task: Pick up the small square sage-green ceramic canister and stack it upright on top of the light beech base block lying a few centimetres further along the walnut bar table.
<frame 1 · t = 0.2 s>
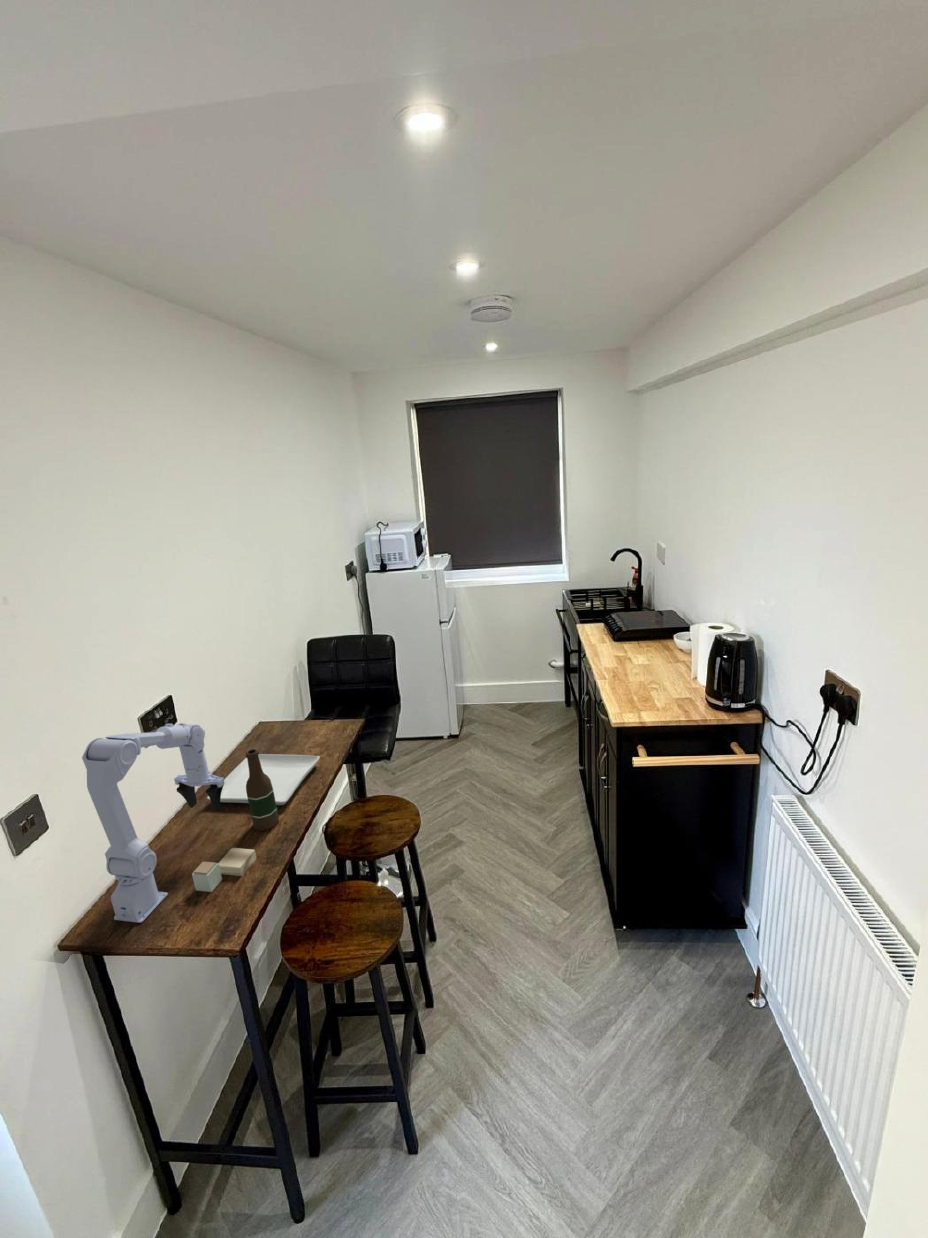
hand: (205, 806, 167), 10 cm above the table, fingers open, 7 cm apart
beer bottle: (266, 823, 174), on the table
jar: (209, 885, 151), on the table
square plate: (268, 785, 195), on the table
base block: (238, 866, 157), on the table
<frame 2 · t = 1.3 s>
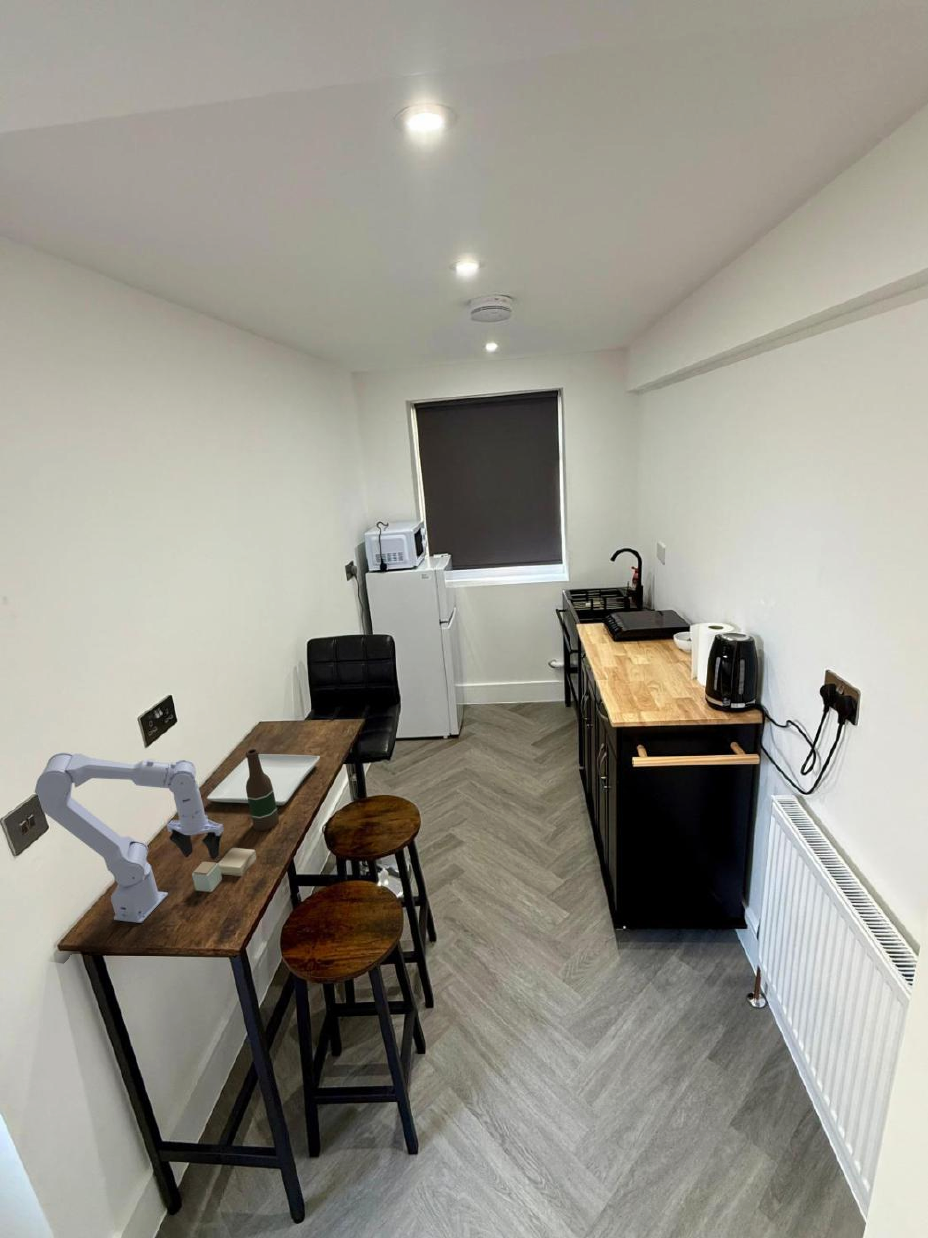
hand: (202, 855, 148), 9 cm above the table, fingers open, 7 cm apart
nothing on the table moved.
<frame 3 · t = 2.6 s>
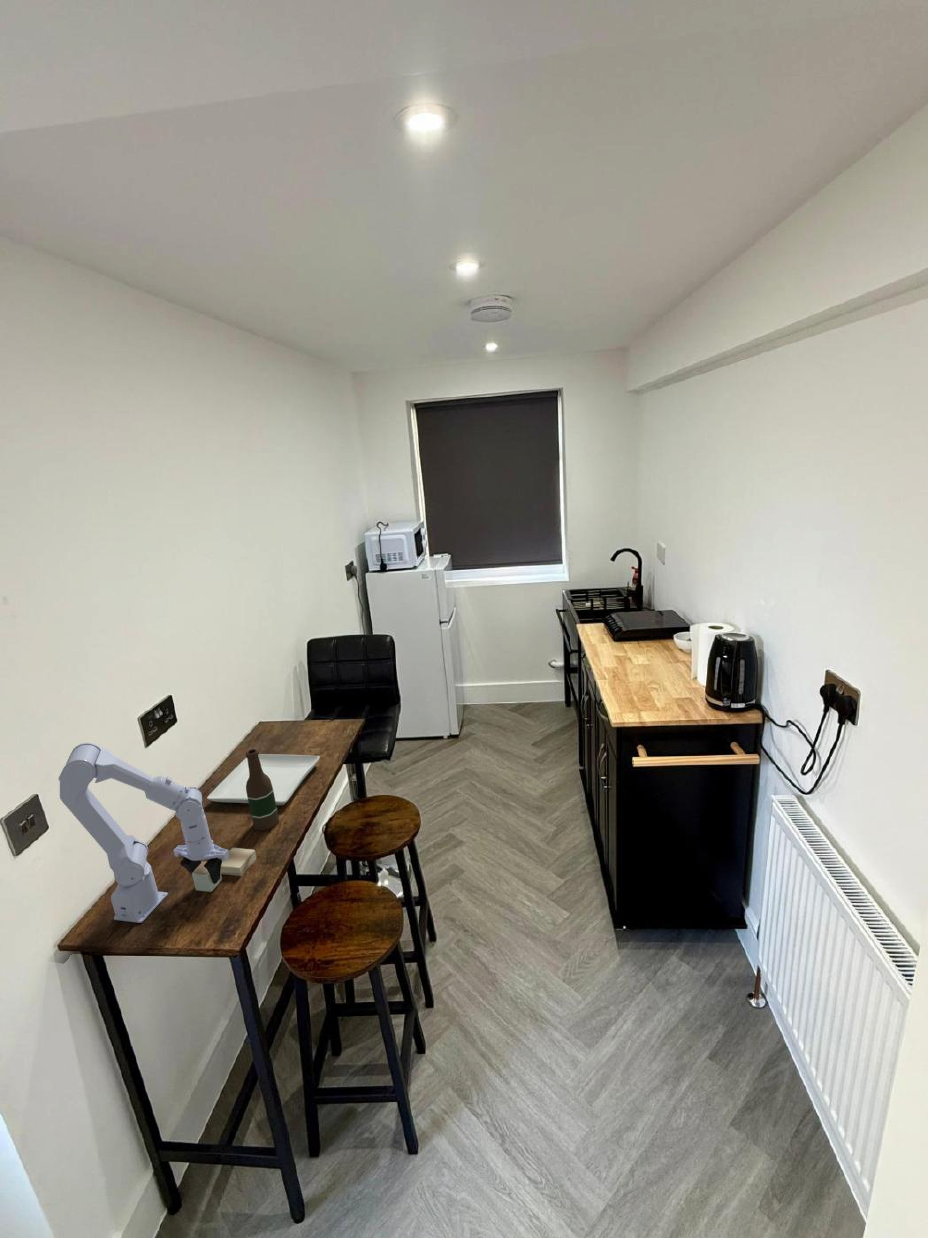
hand: (208, 880, 150), 1 cm above the table, fingers closed on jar, 4 cm apart
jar: (209, 884, 151), on the table, touching gripper
everything else where it was.
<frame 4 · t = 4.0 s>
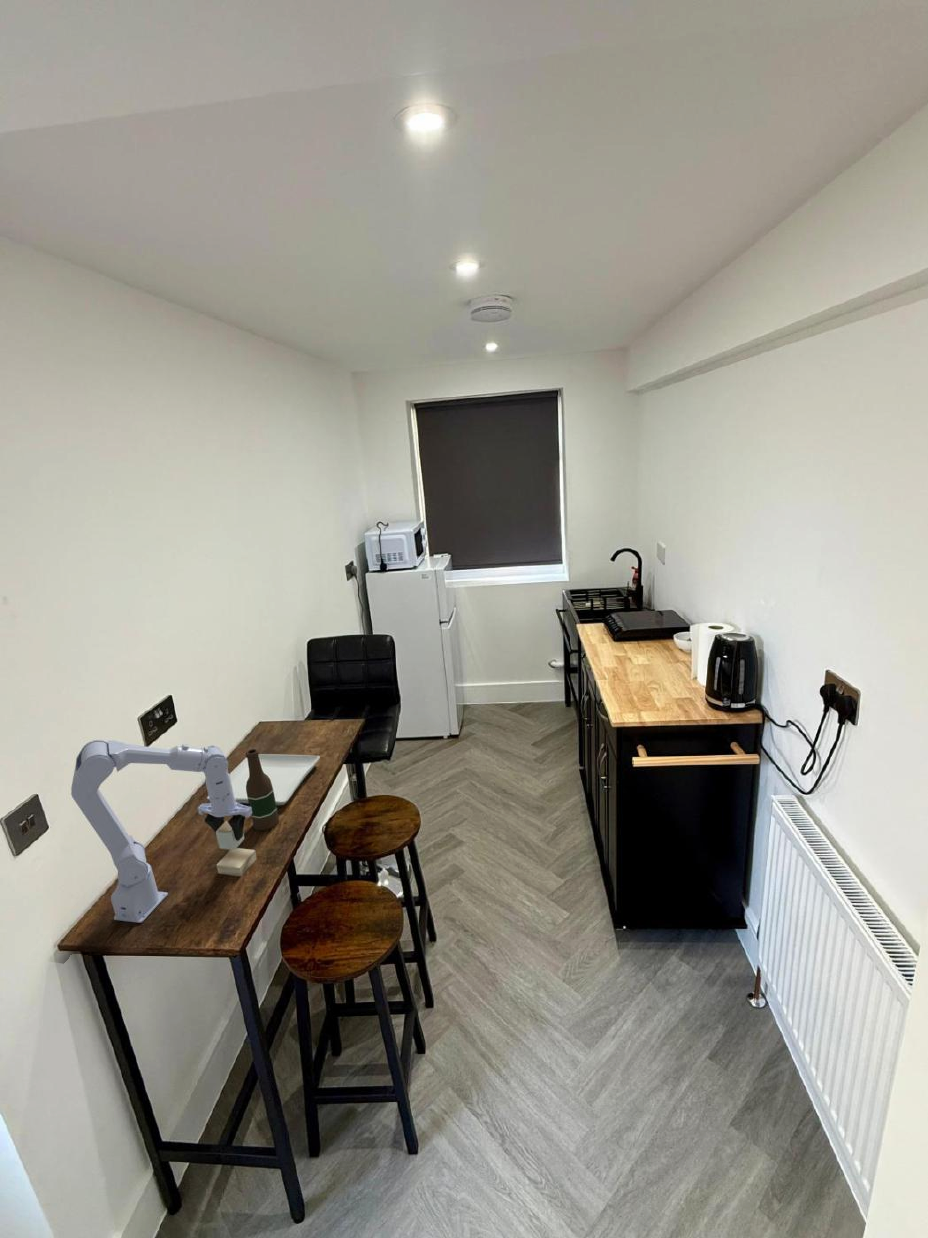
hand: (231, 837, 154), 9 cm above the table, fingers closed on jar, 4 cm apart
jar: (232, 843, 155), point 7 cm above the table, touching gripper
everything else where it was.
when the fingers open (5 cm above the table, at t = 5.3 s): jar stays where it is, point 3 cm above the table.
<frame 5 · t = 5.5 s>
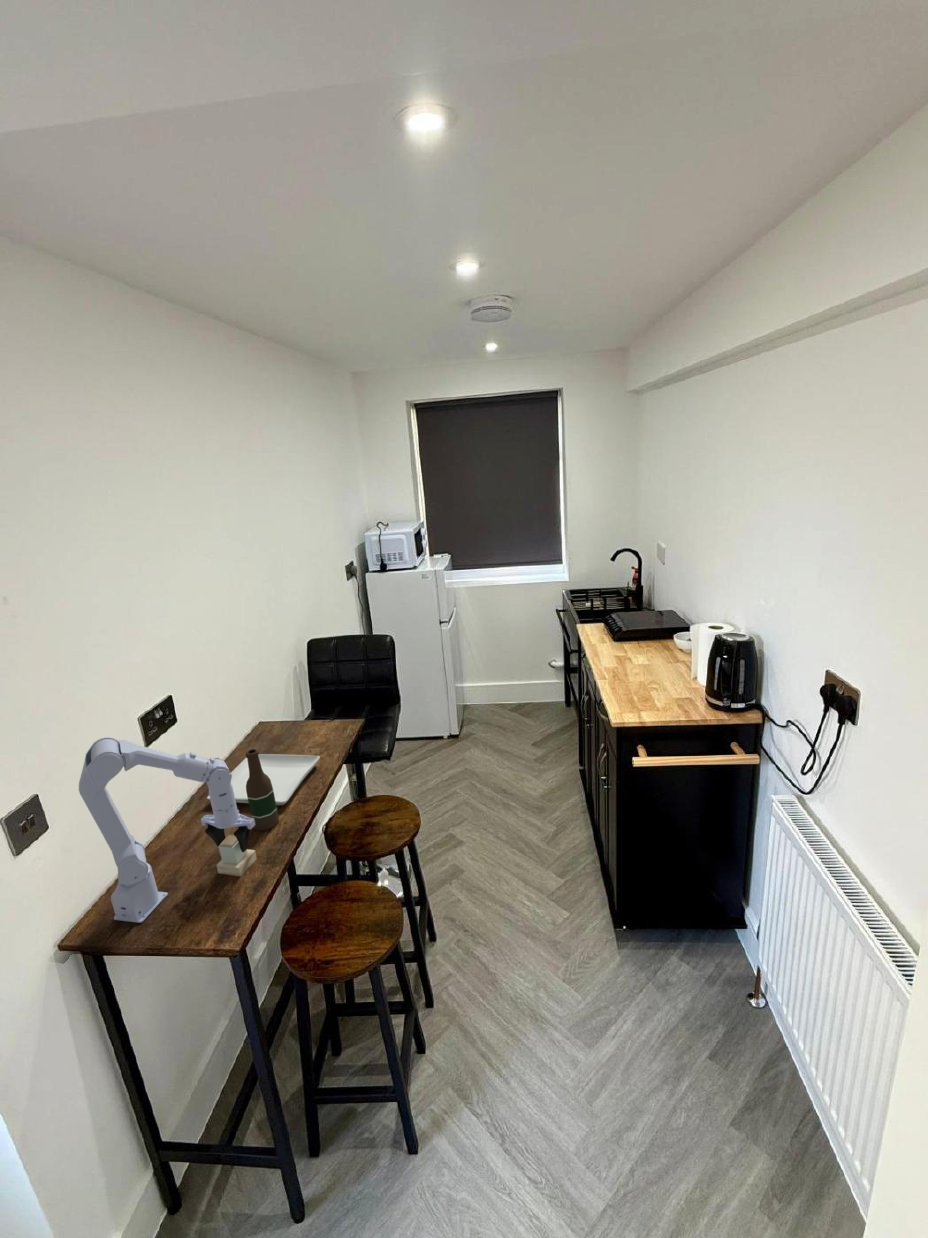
hand: (234, 848, 155), 5 cm above the table, fingers open, 6 cm apart
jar: (235, 857, 156), point 3 cm above the table
everything else where it was.
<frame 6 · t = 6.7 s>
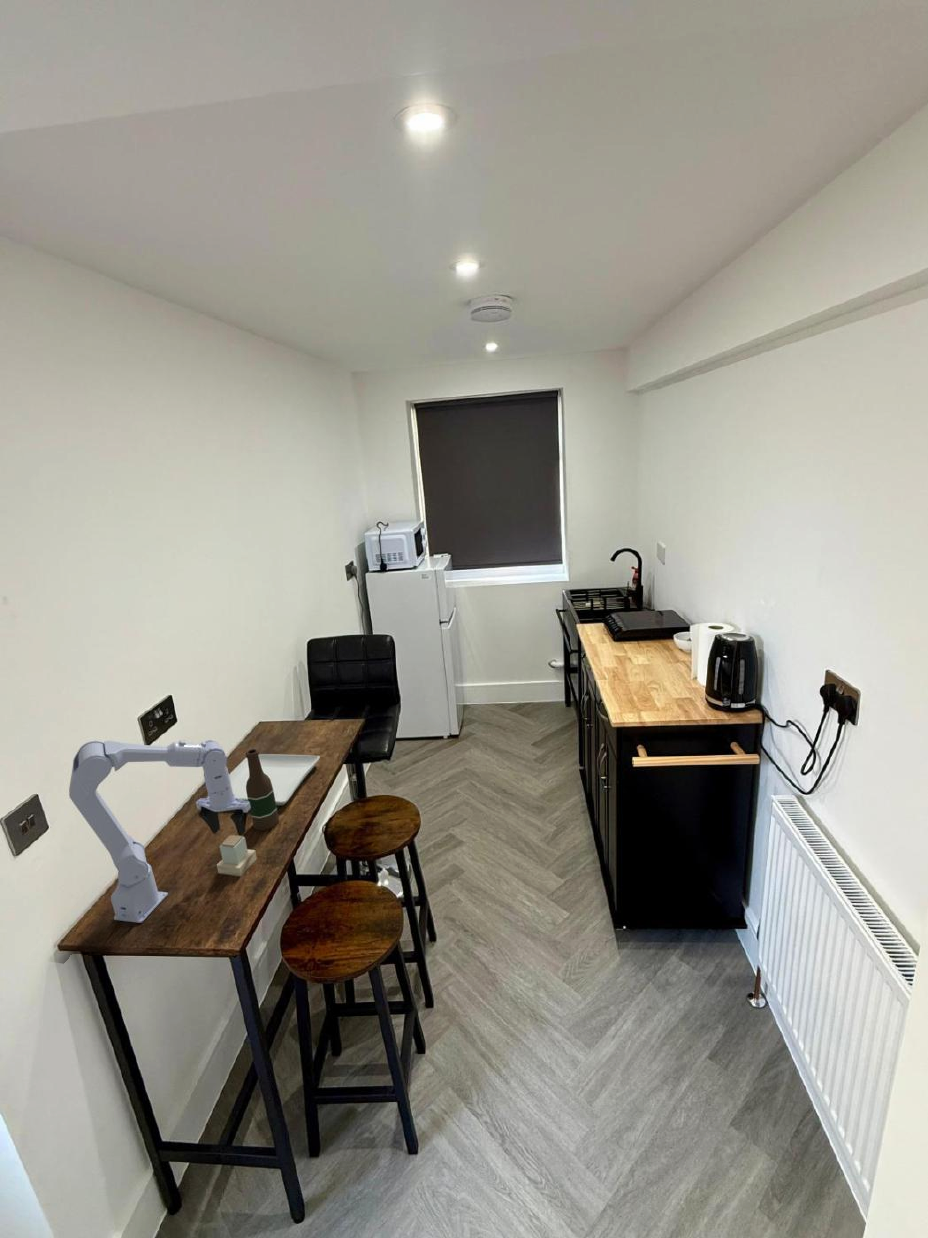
hand: (229, 832, 154), 10 cm above the table, fingers open, 7 cm apart
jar: (235, 857, 156), point 3 cm above the table, touching base block
base block: (238, 867, 157), on the table, touching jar
everything else where it was.
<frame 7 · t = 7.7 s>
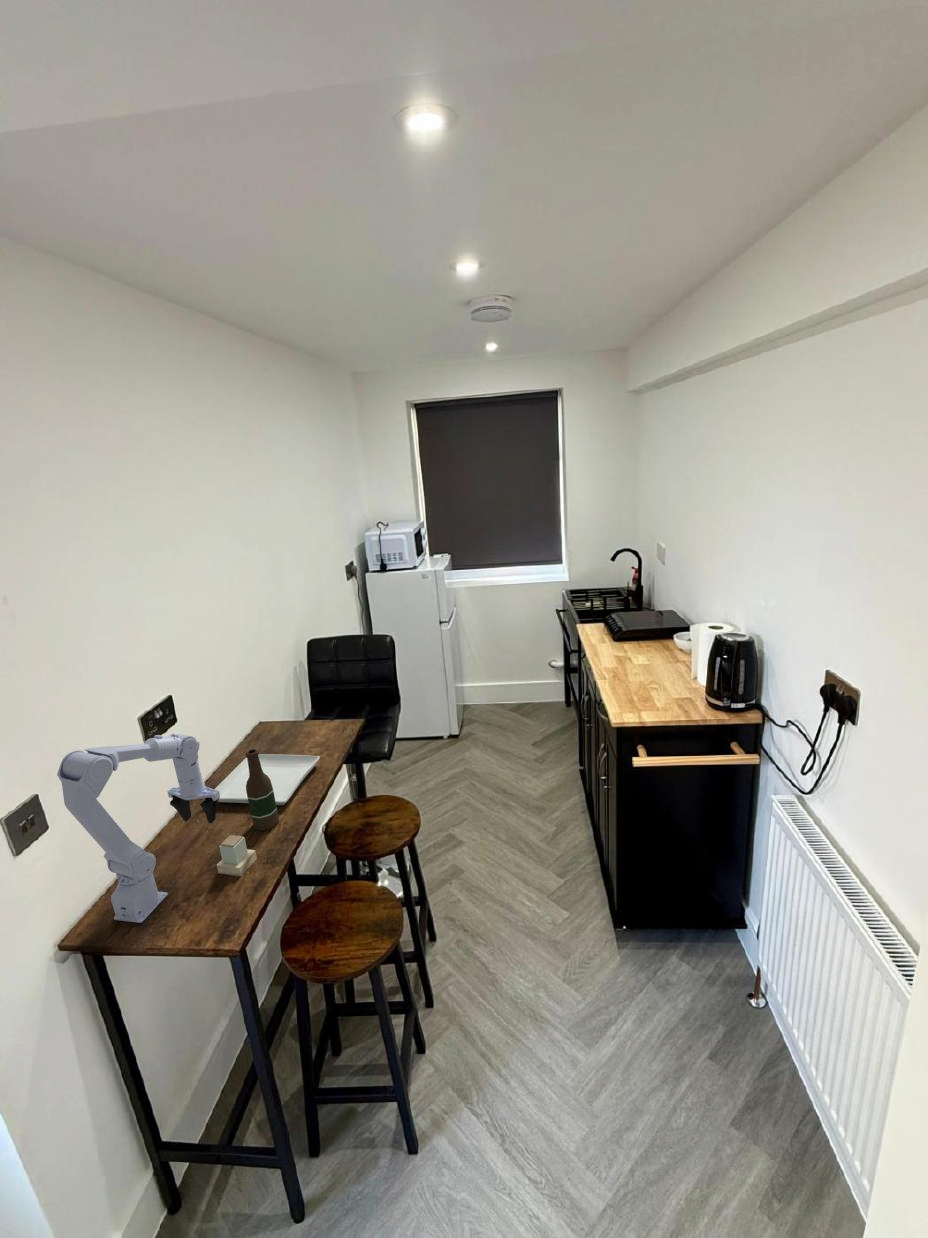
hand: (200, 820, 160), 10 cm above the table, fingers open, 7 cm apart
nothing on the table moved.
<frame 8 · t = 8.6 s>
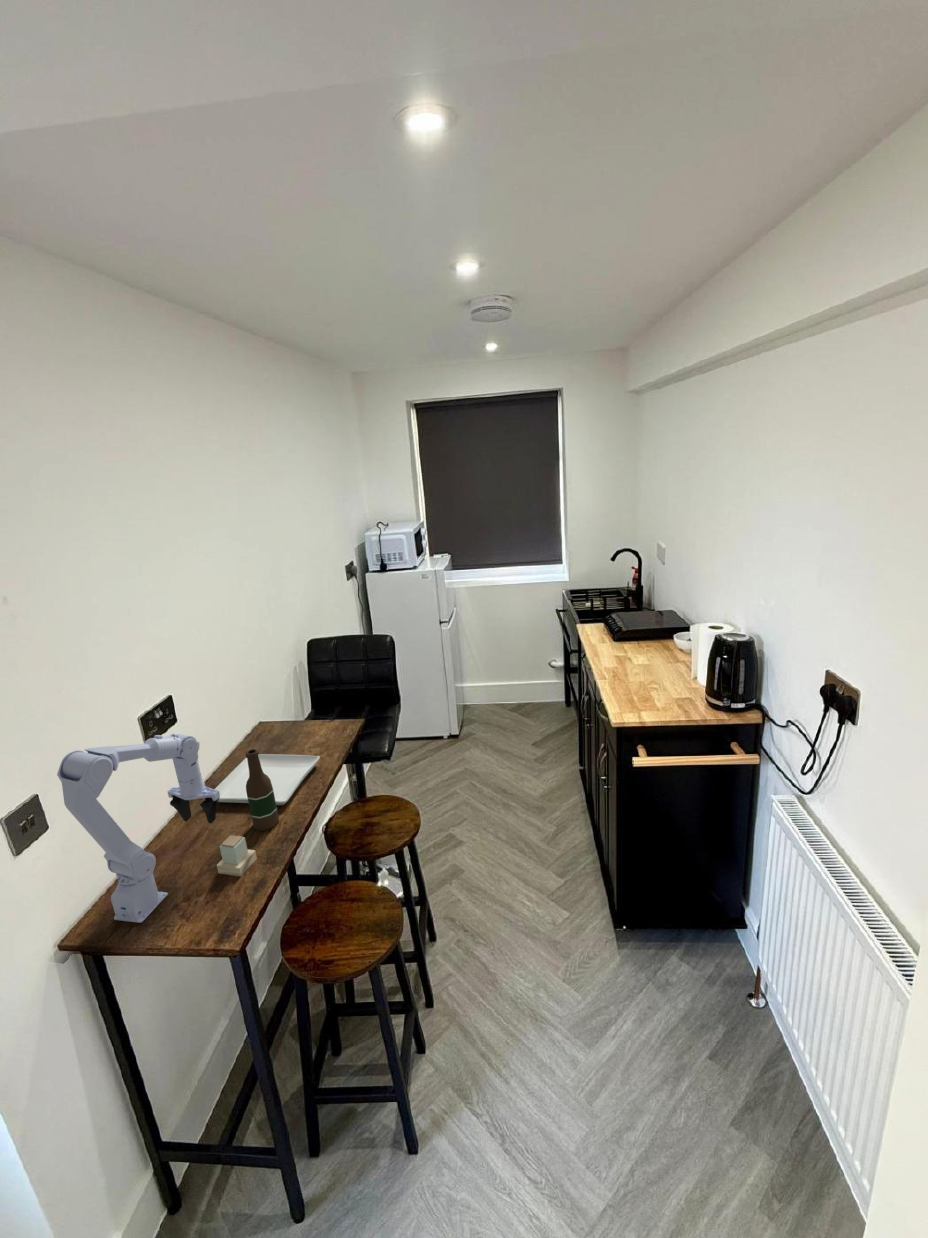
hand: (200, 820, 160), 10 cm above the table, fingers open, 7 cm apart
nothing on the table moved.
at the end: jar 0.1 cm off-centre on the base block, point 3.0 cm above the base block's base; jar tilted 0°; the gripper is holding nothing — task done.
